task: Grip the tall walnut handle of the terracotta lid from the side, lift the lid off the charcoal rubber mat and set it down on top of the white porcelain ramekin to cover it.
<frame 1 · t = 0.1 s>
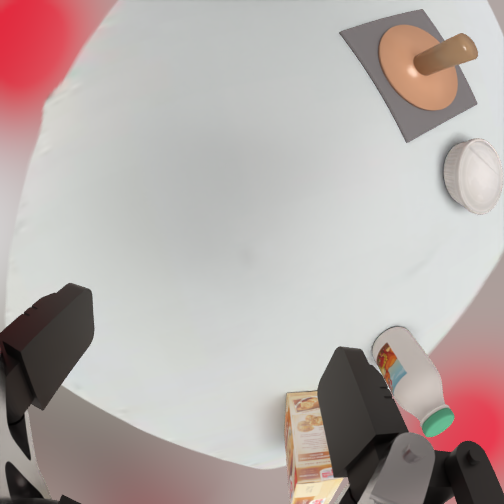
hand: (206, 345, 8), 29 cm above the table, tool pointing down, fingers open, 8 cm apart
milk bottle: (390, 343, 43), on the table
mat: (418, 67, 29), on the table
coffeecake box: (301, 414, 49), on the table
ramekin: (461, 173, 34), on the table
lid: (419, 66, 28), resting on mat
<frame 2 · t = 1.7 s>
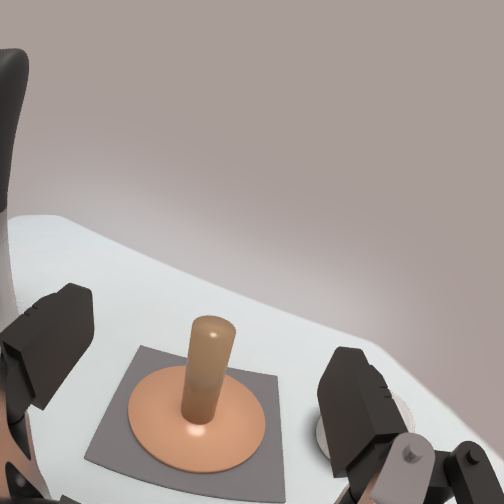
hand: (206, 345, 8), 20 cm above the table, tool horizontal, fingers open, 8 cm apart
mat: (196, 419, 25), on the table
ramekin: (350, 440, 26), on the table
lid: (196, 417, 25), resting on mat
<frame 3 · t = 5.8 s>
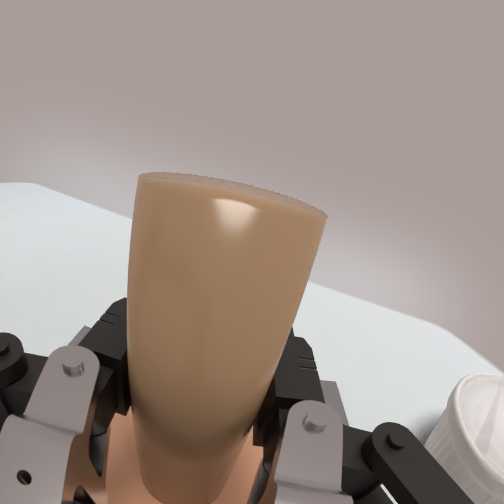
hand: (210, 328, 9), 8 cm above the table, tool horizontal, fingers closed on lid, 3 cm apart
mat: (181, 486, 9), on the table
ramekin: (464, 476, 9), on the table
lid: (181, 483, 9), resting on mat, touching gripper
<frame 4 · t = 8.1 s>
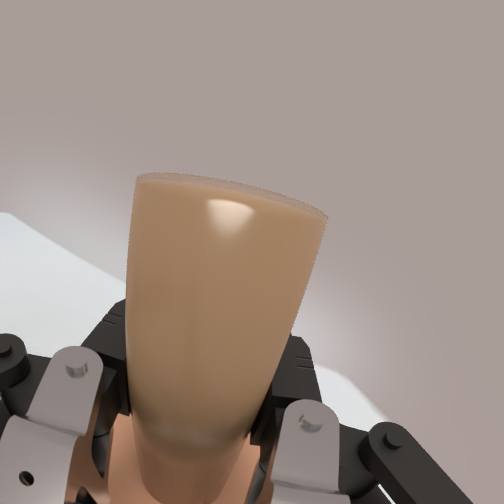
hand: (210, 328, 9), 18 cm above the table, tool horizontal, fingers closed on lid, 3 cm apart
lid: (181, 484, 9), point 11 cm above the table, touching gripper
when the fingers open (13 cm above the table, at t = 10.0 s): lid drops 1 cm, resting on ramekin.
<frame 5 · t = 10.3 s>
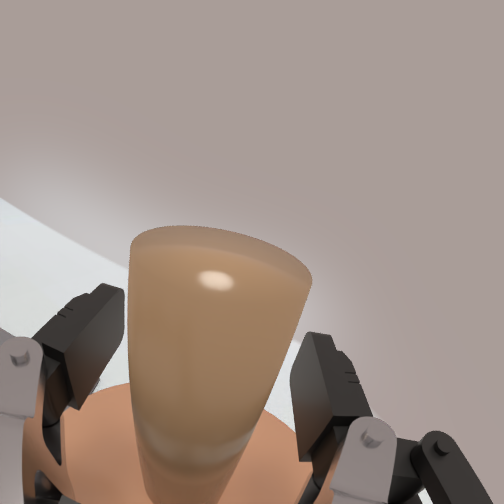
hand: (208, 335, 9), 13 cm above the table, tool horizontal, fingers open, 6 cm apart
lid: (181, 492, 9), point 5 cm above the table, touching ramekin
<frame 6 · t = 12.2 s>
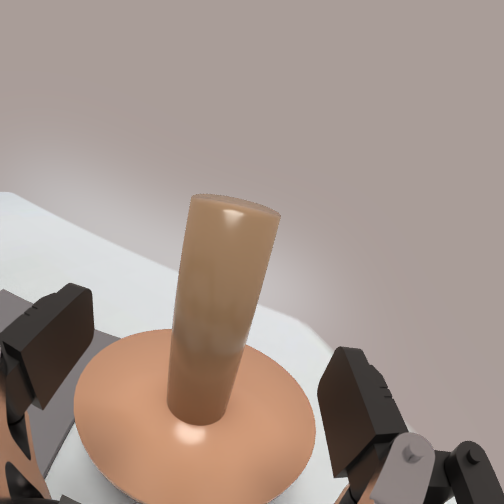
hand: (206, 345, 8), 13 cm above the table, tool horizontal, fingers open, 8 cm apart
mat: (5, 362, 16), on the table
lid: (194, 411, 14), point 5 cm above the table, touching ramekin
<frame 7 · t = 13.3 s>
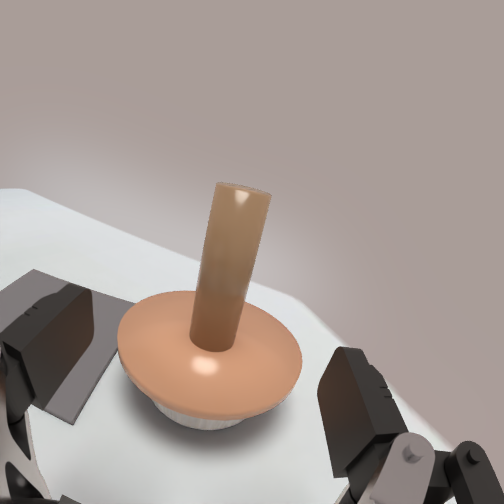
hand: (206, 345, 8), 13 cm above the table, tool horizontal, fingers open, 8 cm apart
mat: (42, 326, 22), on the table
ramekin: (201, 391, 22), on the table, touching lid
lid: (209, 347, 21), point 5 cm above the table, touching ramekin
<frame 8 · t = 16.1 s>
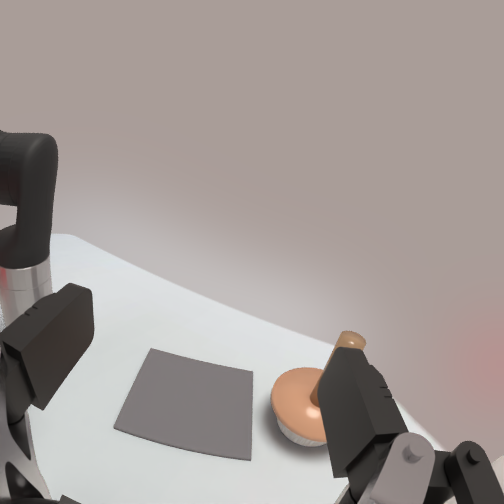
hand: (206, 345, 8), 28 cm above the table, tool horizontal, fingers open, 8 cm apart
mat: (191, 400, 37), on the table
ramekin: (305, 425, 37), on the table, touching lid
lid: (318, 404, 35), point 5 cm above the table, touching ramekin
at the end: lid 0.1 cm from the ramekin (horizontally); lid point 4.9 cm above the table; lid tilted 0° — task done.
